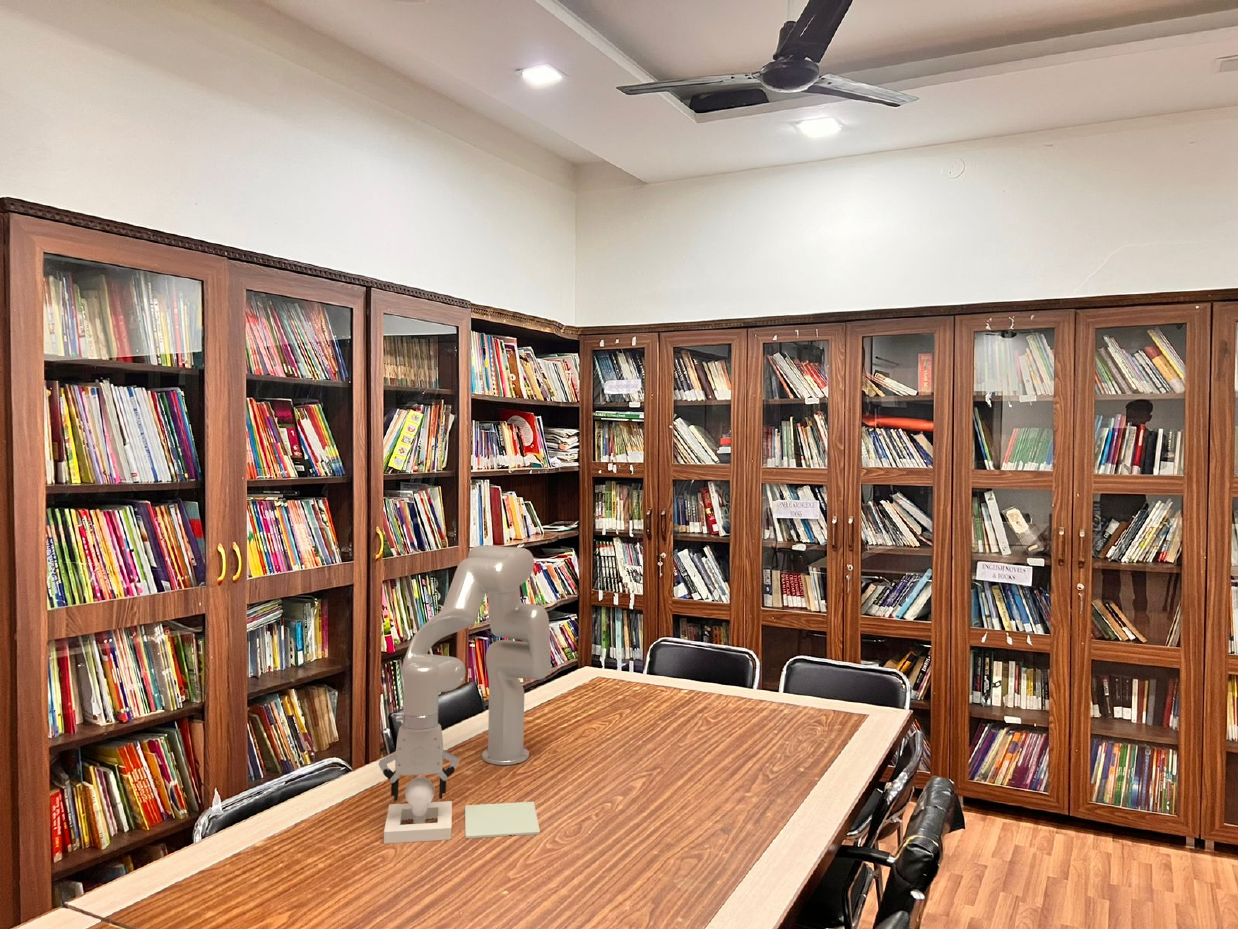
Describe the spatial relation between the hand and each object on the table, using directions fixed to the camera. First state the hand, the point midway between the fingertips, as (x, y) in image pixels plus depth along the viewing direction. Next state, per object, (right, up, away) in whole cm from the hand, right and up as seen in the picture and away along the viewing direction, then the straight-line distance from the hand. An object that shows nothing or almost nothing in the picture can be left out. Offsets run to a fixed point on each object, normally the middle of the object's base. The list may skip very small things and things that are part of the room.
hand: (418, 797), depth 190 cm
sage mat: (+18, -7, +5) cm, 19 cm away
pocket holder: (0, -7, +1) cm, 7 cm away
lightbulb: (0, -7, +1) cm, 7 cm away
